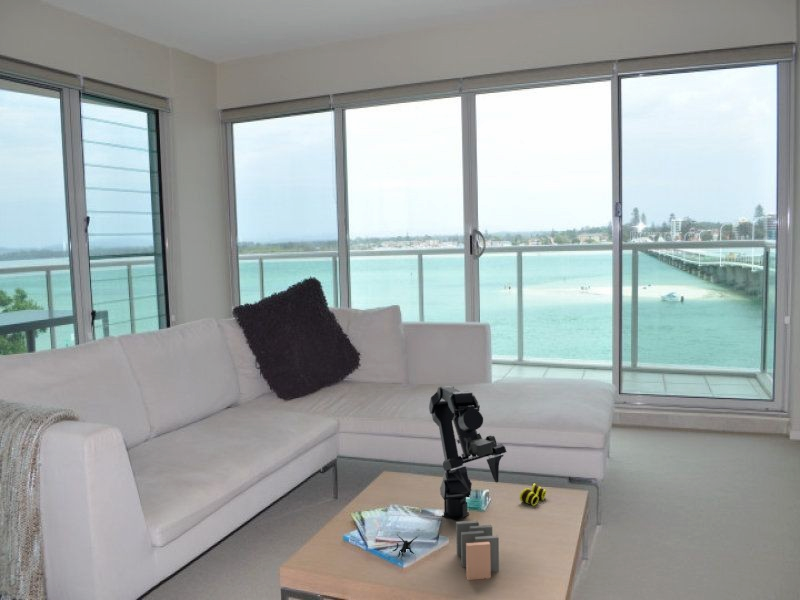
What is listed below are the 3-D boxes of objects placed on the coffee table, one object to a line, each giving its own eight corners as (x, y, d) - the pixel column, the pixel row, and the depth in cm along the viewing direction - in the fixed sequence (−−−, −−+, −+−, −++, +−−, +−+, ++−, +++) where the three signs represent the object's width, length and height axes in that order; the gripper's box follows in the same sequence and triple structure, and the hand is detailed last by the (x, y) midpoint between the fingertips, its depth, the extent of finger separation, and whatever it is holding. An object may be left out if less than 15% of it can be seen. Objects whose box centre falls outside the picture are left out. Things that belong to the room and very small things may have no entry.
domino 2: (456, 553, 181) (456, 521, 180) (477, 551, 182) (477, 520, 181) (457, 555, 180) (457, 524, 179) (479, 554, 180) (478, 522, 180)
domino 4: (475, 570, 172) (474, 536, 171) (497, 568, 172) (497, 535, 172) (476, 572, 170) (475, 539, 170) (498, 570, 171) (498, 537, 170)
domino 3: (461, 564, 175) (460, 532, 174) (483, 563, 175) (483, 530, 175) (462, 567, 173) (461, 534, 173) (484, 565, 174) (484, 532, 173)
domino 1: (469, 558, 178) (469, 526, 177) (491, 556, 179) (491, 524, 178) (470, 560, 177) (470, 528, 176) (492, 559, 177) (492, 526, 177)
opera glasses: (532, 509, 212) (535, 495, 211) (518, 503, 215) (520, 489, 214) (546, 500, 220) (548, 486, 219) (532, 494, 223) (534, 480, 222)
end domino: (466, 577, 168) (466, 543, 167) (489, 575, 169) (489, 541, 168) (467, 579, 167) (467, 545, 166) (490, 578, 167) (490, 544, 167)
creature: (413, 568, 176) (422, 549, 183) (411, 551, 174) (420, 533, 181) (386, 564, 178) (395, 545, 185) (384, 547, 177) (393, 529, 184)
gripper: (451, 436, 181) (468, 493, 177) (507, 421, 189) (524, 475, 185) (435, 442, 191) (451, 496, 187) (488, 427, 198) (505, 479, 194)
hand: (483, 486), depth 188 cm, fingers open, 9 cm apart
